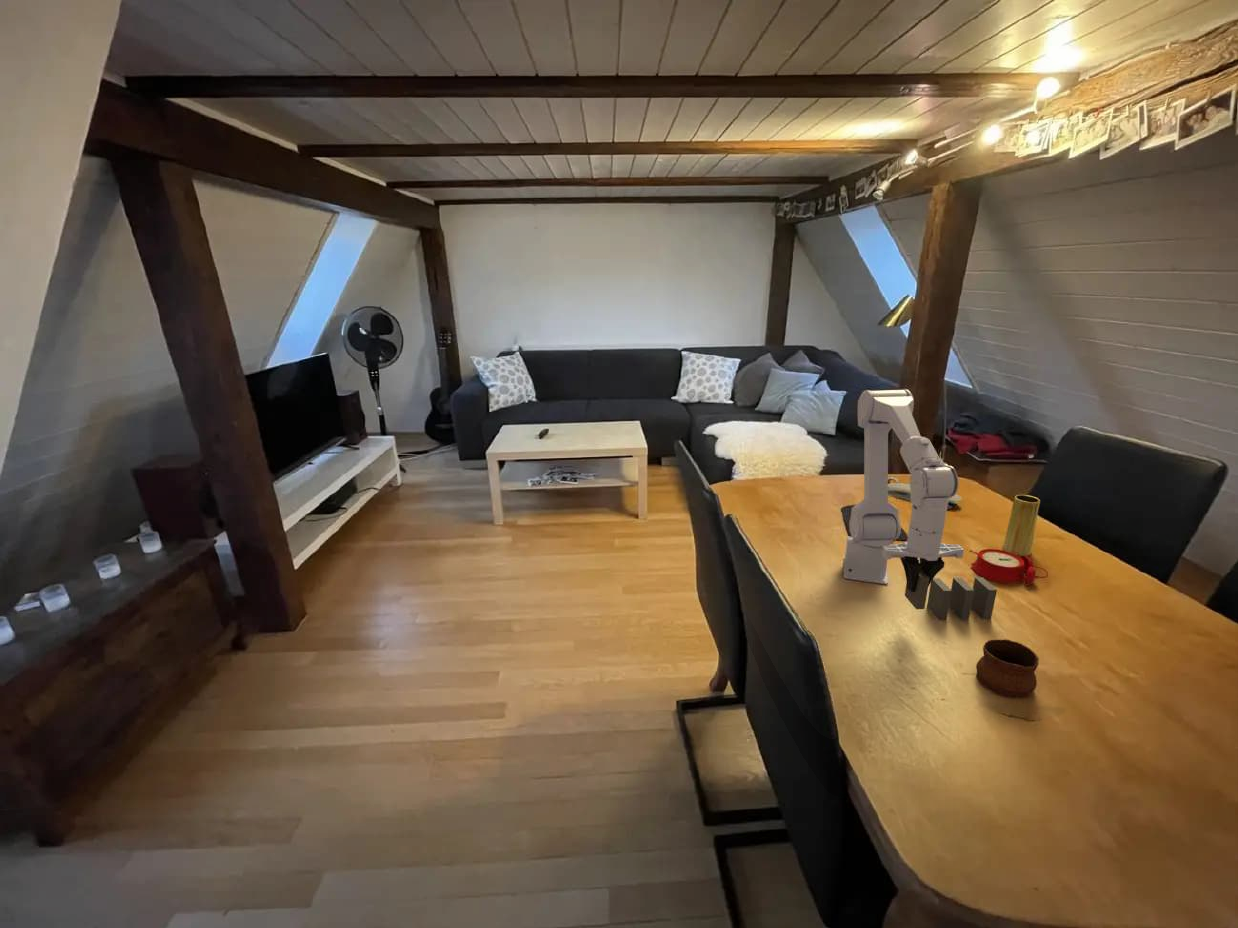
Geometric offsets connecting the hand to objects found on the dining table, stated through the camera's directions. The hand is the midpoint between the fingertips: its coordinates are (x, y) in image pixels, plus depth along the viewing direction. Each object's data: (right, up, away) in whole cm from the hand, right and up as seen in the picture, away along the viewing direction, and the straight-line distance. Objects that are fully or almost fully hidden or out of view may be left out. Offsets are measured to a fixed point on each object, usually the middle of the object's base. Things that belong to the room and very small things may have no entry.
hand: (916, 589), depth 113 cm
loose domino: (0, -3, +1) cm, 3 cm away
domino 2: (+12, -7, +7) cm, 16 cm away
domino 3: (+17, -6, +7) cm, 19 cm away
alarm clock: (+32, -1, +21) cm, 39 cm away
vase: (+42, +3, +32) cm, 53 cm away
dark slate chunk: (+13, +7, +49) cm, 52 cm away
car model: (+35, +14, +66) cm, 76 cm away
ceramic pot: (+9, -14, -13) cm, 21 cm away
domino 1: (+8, -7, +7) cm, 13 cm away
